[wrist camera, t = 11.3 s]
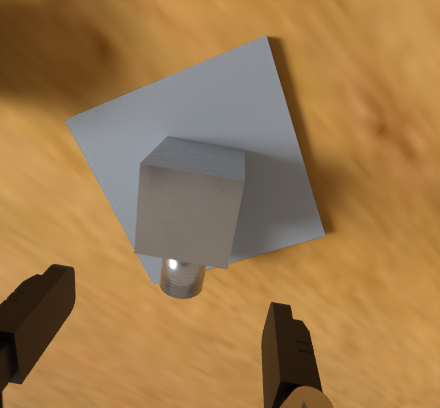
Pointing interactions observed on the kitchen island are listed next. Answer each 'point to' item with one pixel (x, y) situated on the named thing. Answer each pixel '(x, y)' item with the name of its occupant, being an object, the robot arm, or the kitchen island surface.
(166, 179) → the cube on steel peg
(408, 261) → the kitchen island surface
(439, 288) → the kitchen island surface
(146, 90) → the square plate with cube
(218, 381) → the kitchen island surface
